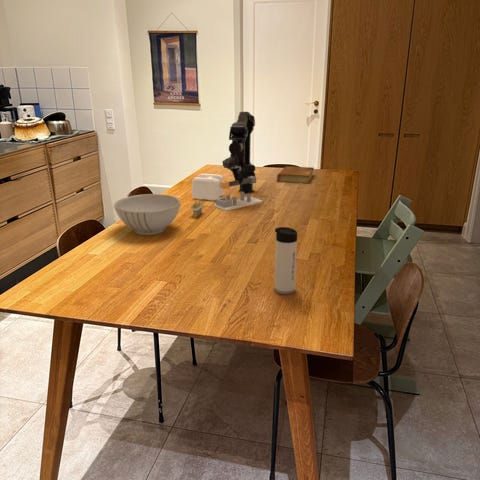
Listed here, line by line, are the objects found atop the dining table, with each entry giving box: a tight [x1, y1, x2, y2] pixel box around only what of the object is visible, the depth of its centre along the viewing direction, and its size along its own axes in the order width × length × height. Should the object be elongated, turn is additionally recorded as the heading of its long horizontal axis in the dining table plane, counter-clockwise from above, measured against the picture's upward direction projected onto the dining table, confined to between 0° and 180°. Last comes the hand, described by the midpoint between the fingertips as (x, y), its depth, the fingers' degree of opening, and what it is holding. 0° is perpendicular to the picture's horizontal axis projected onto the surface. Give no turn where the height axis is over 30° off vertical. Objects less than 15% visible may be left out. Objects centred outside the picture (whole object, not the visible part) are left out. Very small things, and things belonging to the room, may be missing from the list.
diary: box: [276, 165, 315, 185], centre depth 279 cm, size 23×19×6 cm
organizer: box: [190, 173, 225, 202], centre depth 237 cm, size 15×11×12 cm
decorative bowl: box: [113, 193, 182, 236], centre depth 190 cm, size 27×27×12 cm
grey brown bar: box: [220, 176, 257, 190], centre depth 224 cm, size 20×3×3 cm, turn 129°
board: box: [213, 191, 263, 212], centre depth 227 cm, size 23×10×5 cm, turn 128°
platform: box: [190, 200, 205, 219], centre depth 210 cm, size 12×18×7 cm, turn 167°
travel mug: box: [273, 226, 298, 295], centre depth 137 cm, size 6×7×20 cm
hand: (238, 183), depth 224 cm, fingers closed on grey brown bar, 2 cm apart
